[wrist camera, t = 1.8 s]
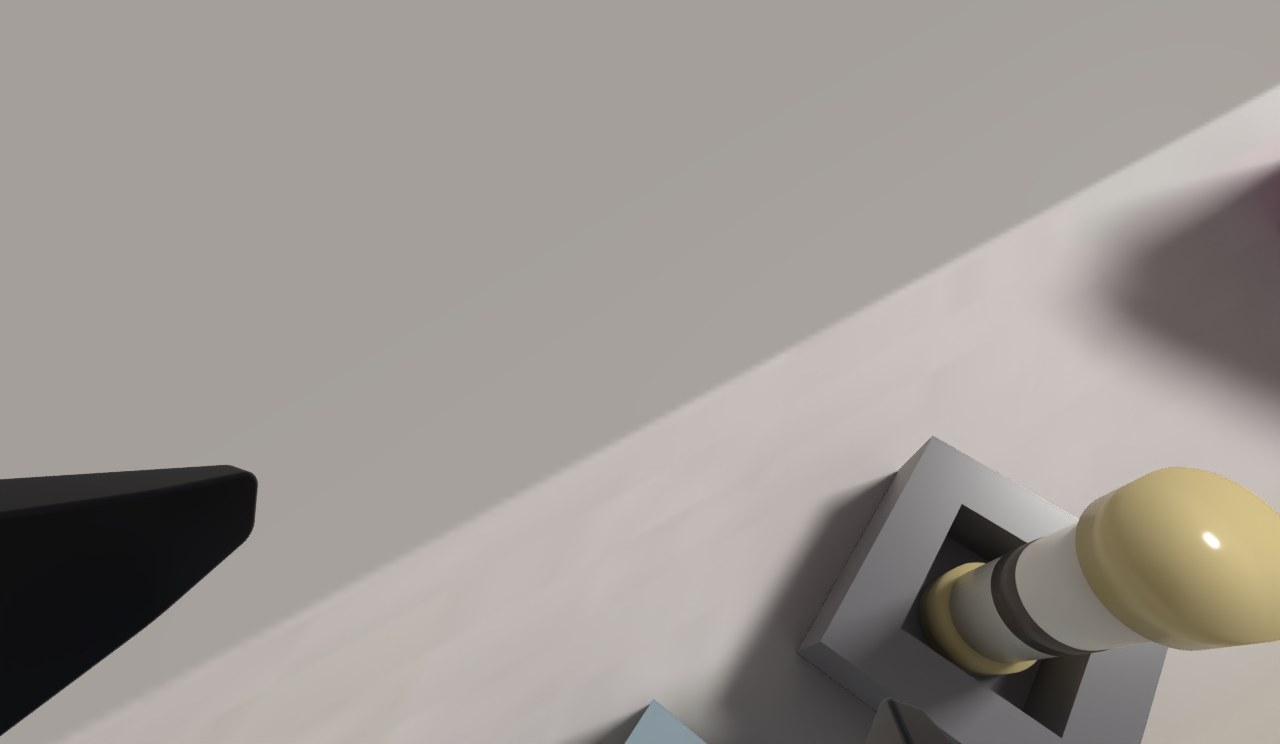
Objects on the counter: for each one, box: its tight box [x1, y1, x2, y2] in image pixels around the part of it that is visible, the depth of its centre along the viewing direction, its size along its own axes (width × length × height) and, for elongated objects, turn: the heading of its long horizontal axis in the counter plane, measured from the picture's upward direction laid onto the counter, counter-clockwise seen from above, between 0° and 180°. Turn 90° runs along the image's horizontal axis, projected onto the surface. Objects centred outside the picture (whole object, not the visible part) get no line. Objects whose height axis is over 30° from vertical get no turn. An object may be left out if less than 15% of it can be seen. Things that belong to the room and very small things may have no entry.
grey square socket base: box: [797, 436, 1168, 744], centre depth 19 cm, size 8×8×3 cm
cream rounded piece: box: [919, 467, 1280, 677], centre depth 16 cm, size 3×3×10 cm
